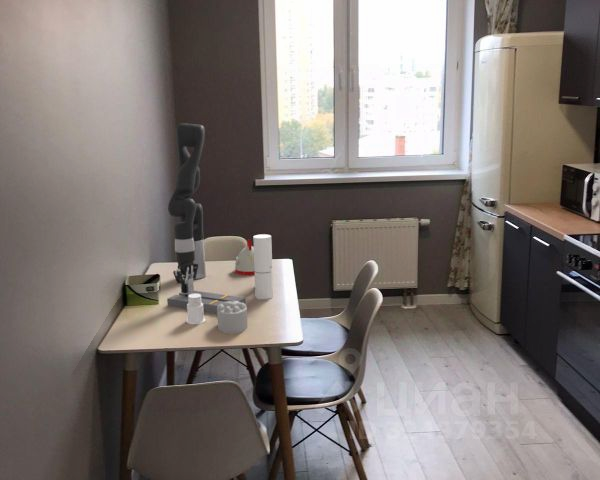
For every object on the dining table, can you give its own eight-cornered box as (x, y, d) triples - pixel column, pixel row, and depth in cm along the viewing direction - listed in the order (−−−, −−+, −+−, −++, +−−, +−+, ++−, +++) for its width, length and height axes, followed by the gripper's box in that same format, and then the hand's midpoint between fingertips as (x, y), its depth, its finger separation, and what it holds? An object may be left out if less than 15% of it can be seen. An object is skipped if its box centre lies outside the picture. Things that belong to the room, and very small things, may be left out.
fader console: (167, 305, 268) (167, 297, 267) (187, 296, 279) (187, 288, 278) (227, 315, 255) (227, 306, 255) (246, 305, 267) (245, 296, 266)
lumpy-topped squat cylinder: (246, 320, 249) (245, 297, 247) (248, 332, 237) (247, 308, 235) (217, 322, 248) (216, 299, 246) (218, 334, 235) (217, 310, 233)
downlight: (183, 319, 252) (182, 293, 249) (202, 316, 254) (201, 290, 252) (189, 326, 245) (187, 300, 242) (208, 323, 247) (207, 297, 245)
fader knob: (181, 300, 271) (180, 278, 269) (186, 298, 273) (184, 276, 271) (189, 301, 269) (188, 279, 267) (194, 299, 271) (193, 277, 269)
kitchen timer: (237, 276, 308) (236, 243, 305) (233, 268, 321) (231, 237, 318) (267, 273, 311) (266, 241, 308) (262, 266, 324) (261, 235, 321)
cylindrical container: (276, 295, 279) (274, 235, 273) (268, 300, 272) (266, 238, 267) (260, 293, 282) (258, 233, 276) (252, 298, 275) (250, 237, 270)
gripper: (187, 244, 274) (190, 286, 278) (165, 252, 262) (168, 295, 266) (203, 246, 271) (205, 288, 275) (181, 254, 259) (184, 297, 262)
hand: (187, 291), depth 270 cm, fingers closed on fader knob, 3 cm apart
